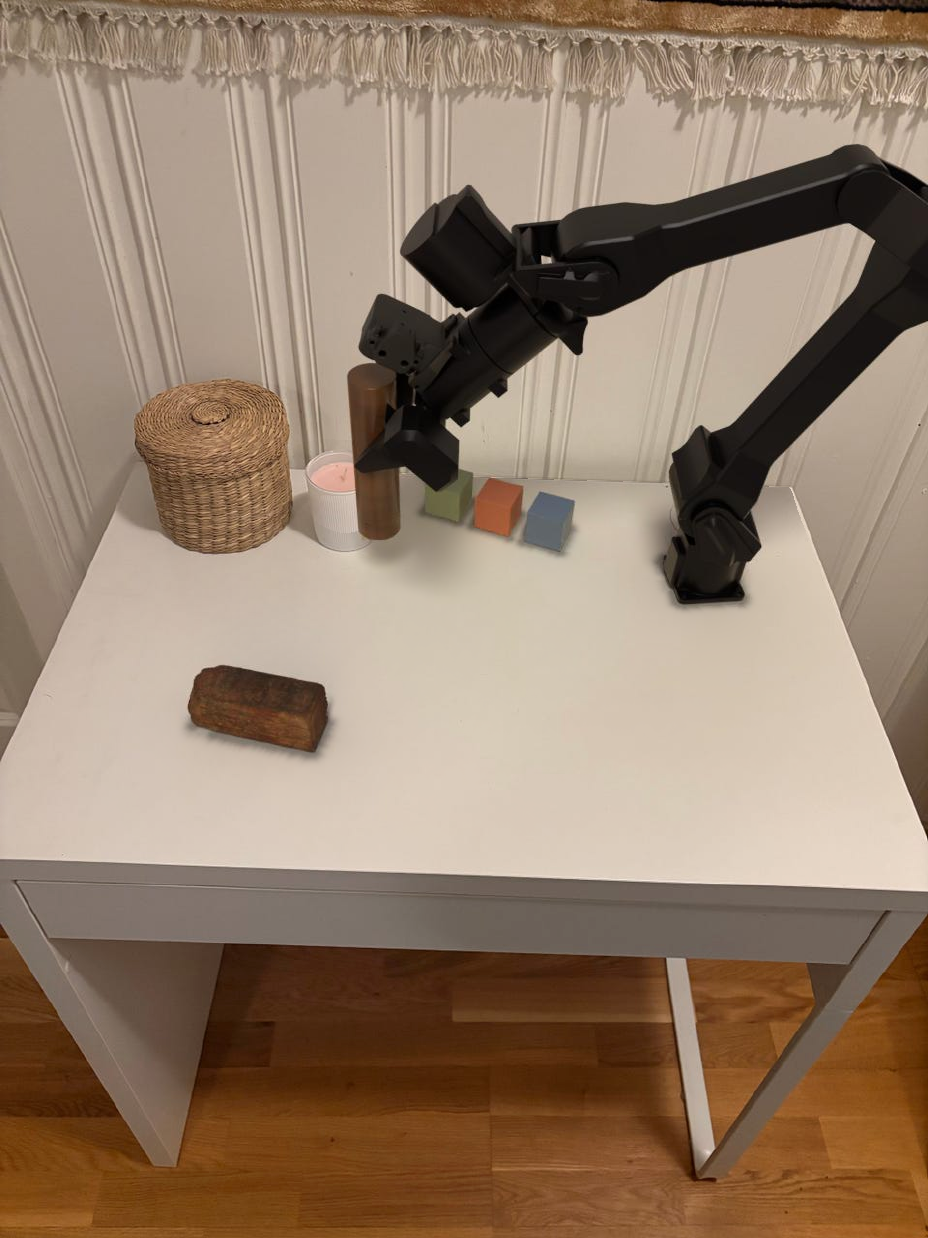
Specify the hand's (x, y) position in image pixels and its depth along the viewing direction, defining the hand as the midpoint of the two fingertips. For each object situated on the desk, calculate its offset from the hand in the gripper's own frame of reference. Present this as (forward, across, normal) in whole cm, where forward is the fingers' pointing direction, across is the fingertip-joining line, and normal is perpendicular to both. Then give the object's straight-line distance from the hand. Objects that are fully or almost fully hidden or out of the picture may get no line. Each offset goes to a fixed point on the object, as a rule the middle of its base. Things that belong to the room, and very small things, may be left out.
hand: (360, 453), depth 81 cm
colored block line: (+1, -8, +19) cm, 20 cm away
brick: (+15, +20, +5) cm, 25 cm away
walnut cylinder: (+5, 0, +7) cm, 8 cm away
